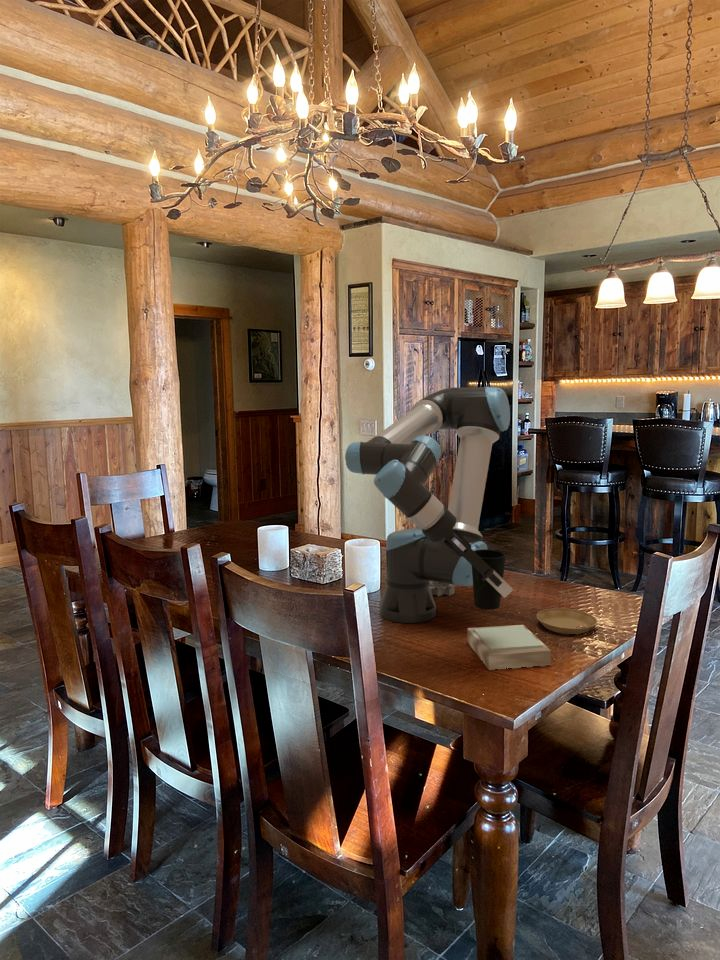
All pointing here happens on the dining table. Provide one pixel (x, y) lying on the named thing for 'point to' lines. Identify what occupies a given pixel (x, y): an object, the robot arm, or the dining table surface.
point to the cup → (484, 590)
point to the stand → (508, 647)
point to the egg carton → (441, 588)
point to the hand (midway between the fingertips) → (502, 587)
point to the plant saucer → (566, 620)
